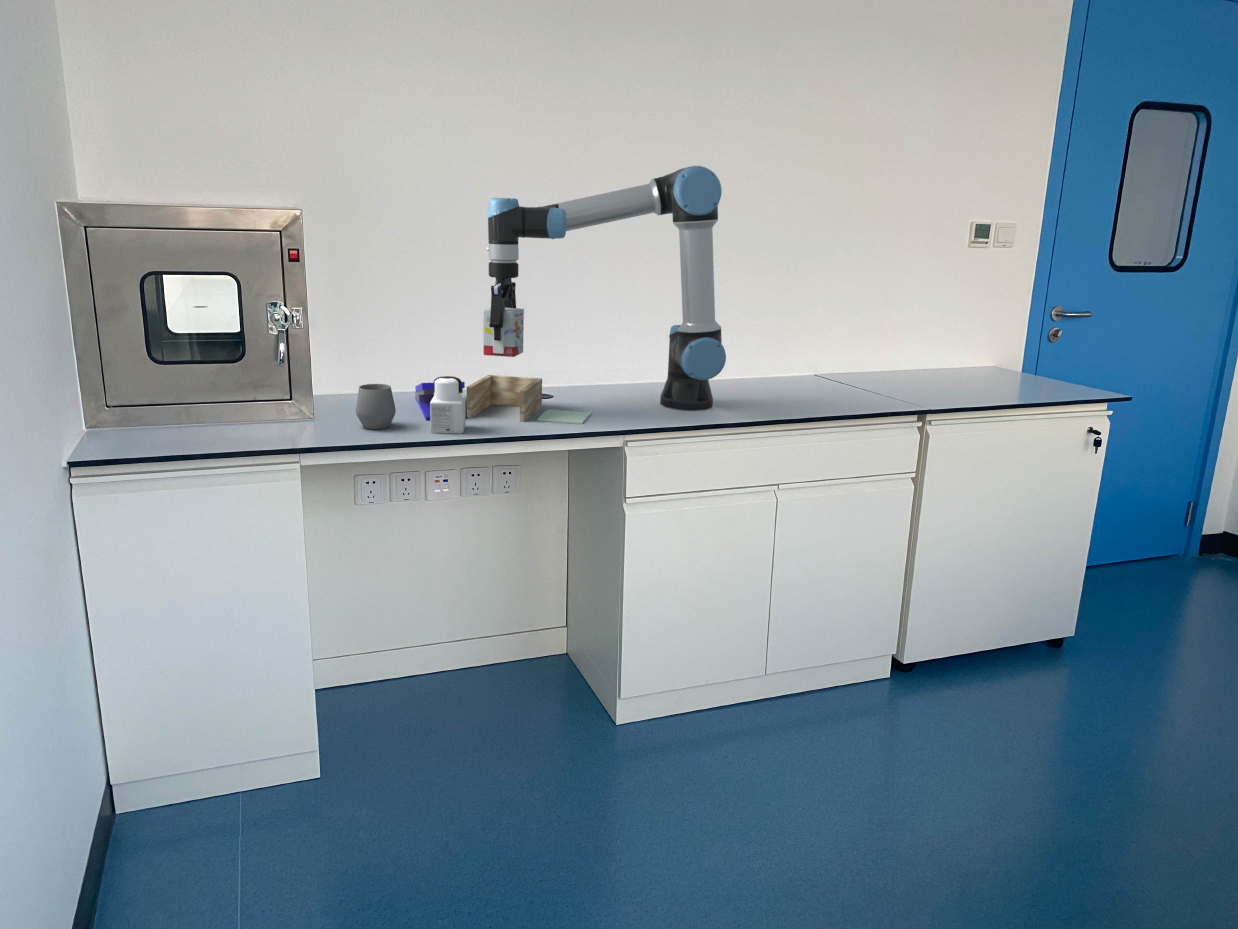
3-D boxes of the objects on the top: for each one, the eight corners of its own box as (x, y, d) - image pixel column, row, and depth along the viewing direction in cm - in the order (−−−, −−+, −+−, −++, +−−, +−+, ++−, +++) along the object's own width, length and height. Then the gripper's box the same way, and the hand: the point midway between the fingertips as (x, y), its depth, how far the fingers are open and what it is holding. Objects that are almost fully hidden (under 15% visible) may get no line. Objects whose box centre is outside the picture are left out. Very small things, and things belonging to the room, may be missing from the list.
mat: (591, 414, 237) (591, 412, 237) (581, 424, 226) (582, 422, 226) (547, 410, 239) (547, 409, 239) (536, 420, 228) (536, 419, 228)
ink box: (514, 357, 224) (514, 310, 220) (482, 355, 225) (481, 308, 222) (524, 352, 232) (524, 307, 228) (493, 350, 233) (493, 305, 230)
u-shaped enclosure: (541, 406, 243) (542, 378, 241) (524, 421, 226) (524, 391, 224) (488, 403, 246) (488, 374, 243) (466, 417, 228) (466, 387, 226)
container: (434, 425, 219) (433, 374, 215) (465, 426, 219) (464, 374, 216) (430, 433, 211) (429, 380, 208) (462, 433, 212) (462, 380, 208)
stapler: (423, 422, 223) (422, 384, 221) (412, 399, 249) (411, 364, 246) (469, 420, 227) (468, 382, 224) (453, 397, 252) (453, 363, 250)
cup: (359, 432, 210) (357, 391, 207) (354, 423, 218) (352, 383, 215) (399, 429, 213) (398, 389, 211) (392, 421, 222) (391, 382, 219)
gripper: (501, 258, 233) (502, 343, 239) (475, 263, 212) (476, 355, 219) (529, 259, 231) (528, 345, 238) (505, 264, 211) (506, 357, 217)
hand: (503, 350), depth 228 cm, fingers closed on ink box, 9 cm apart
